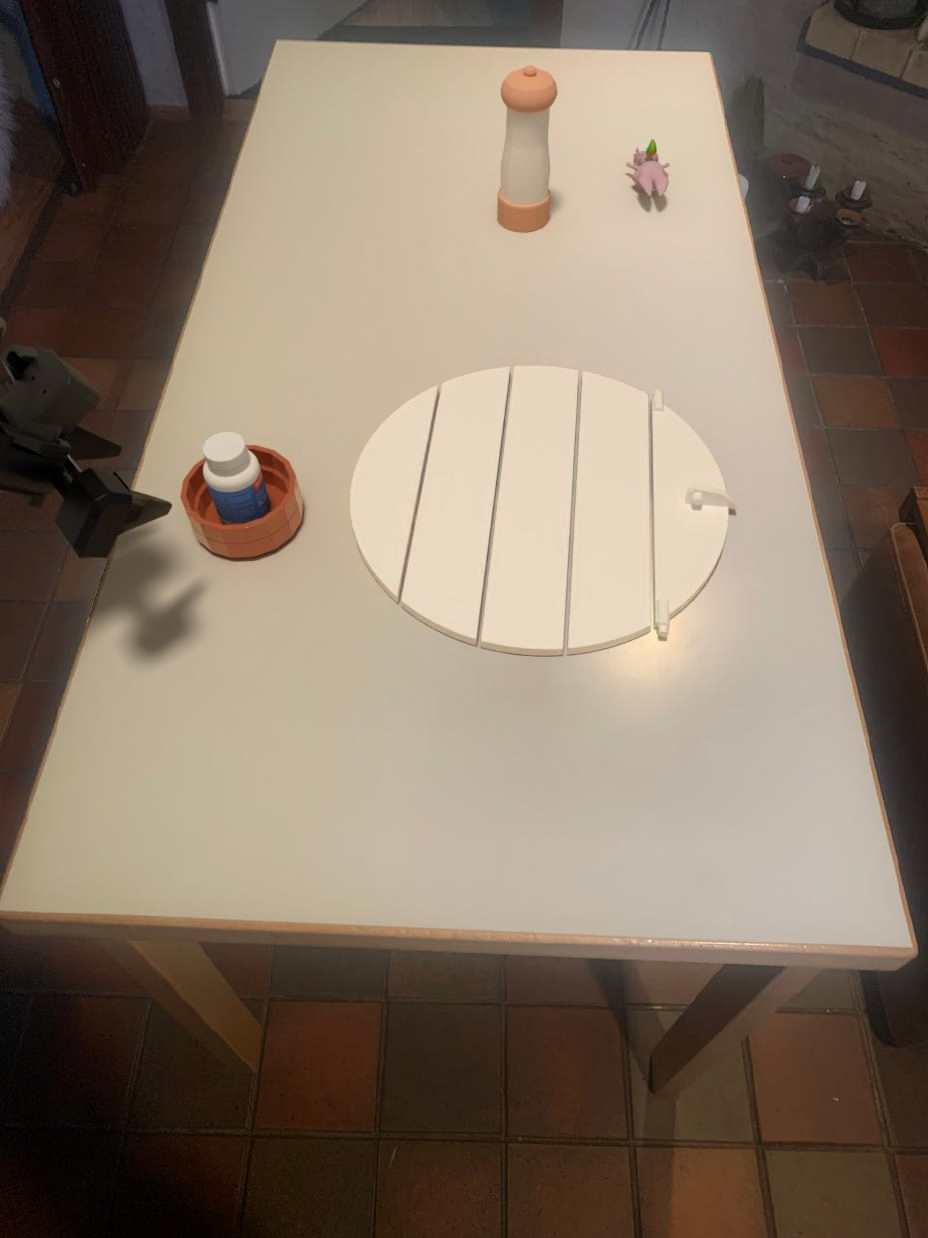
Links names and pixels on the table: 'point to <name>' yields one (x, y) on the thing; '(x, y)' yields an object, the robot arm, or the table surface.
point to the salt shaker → (526, 150)
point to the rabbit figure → (649, 170)
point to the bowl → (255, 533)
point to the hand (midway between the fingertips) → (144, 478)
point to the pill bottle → (234, 479)
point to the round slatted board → (539, 510)
